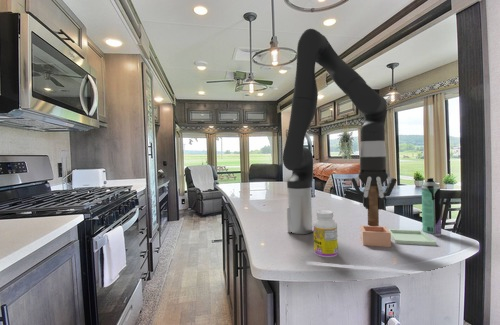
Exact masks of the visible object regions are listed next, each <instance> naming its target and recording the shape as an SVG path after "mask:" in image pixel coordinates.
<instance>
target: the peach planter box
mask: <svg viewBox="0 0 500 325" xmlns="http://www.w3.org/2000/svg"><path fill="white" fill-rule="evenodd" d="M388 229H389V228H387V226H382V225H381V226H380V225H379V226H376V227H375V226H369V225H361V224H360V225H359V232H360V240H361V243H362V245H363V246H369V247H386V248H392V238H391V233H390V232H389V230H388Z"/></svg>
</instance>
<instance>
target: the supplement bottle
mask: <svg viewBox="0 0 500 325" xmlns="http://www.w3.org/2000/svg"><path fill="white" fill-rule="evenodd" d="M315 214H316V218H317V219H315V220H314V221H313V223H312V227H313V253H314V254H315V255H316V256H319V257H323V258H334V257H336V256H339V254H338V253H339V249H338V224H337V221H335V219H334V212H333V211H331V210H329V209H328V210H327V209H325V210H323V209H322V210H317V211H316V213H315Z"/></svg>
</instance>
